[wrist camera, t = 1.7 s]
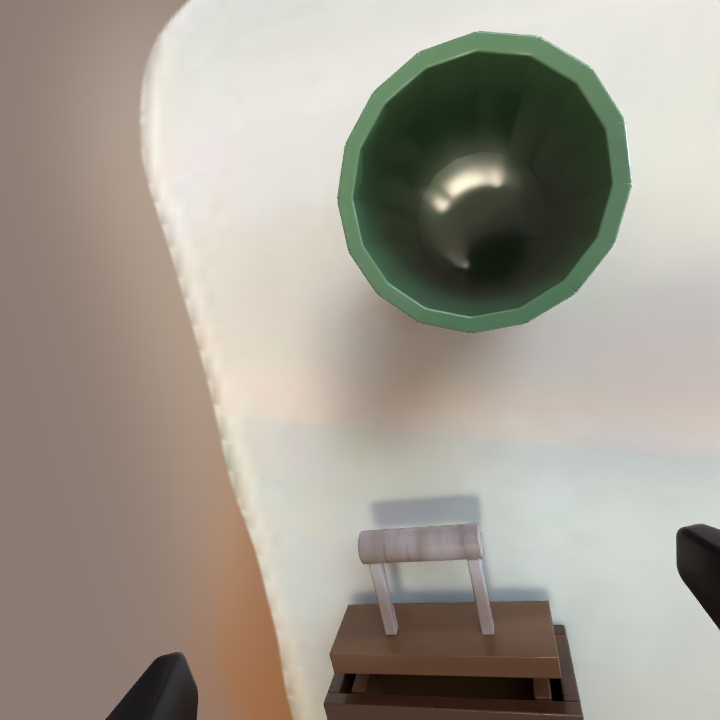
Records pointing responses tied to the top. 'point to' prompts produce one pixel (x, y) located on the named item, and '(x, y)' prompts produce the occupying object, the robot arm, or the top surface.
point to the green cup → (484, 181)
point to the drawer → (444, 629)
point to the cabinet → (458, 700)
